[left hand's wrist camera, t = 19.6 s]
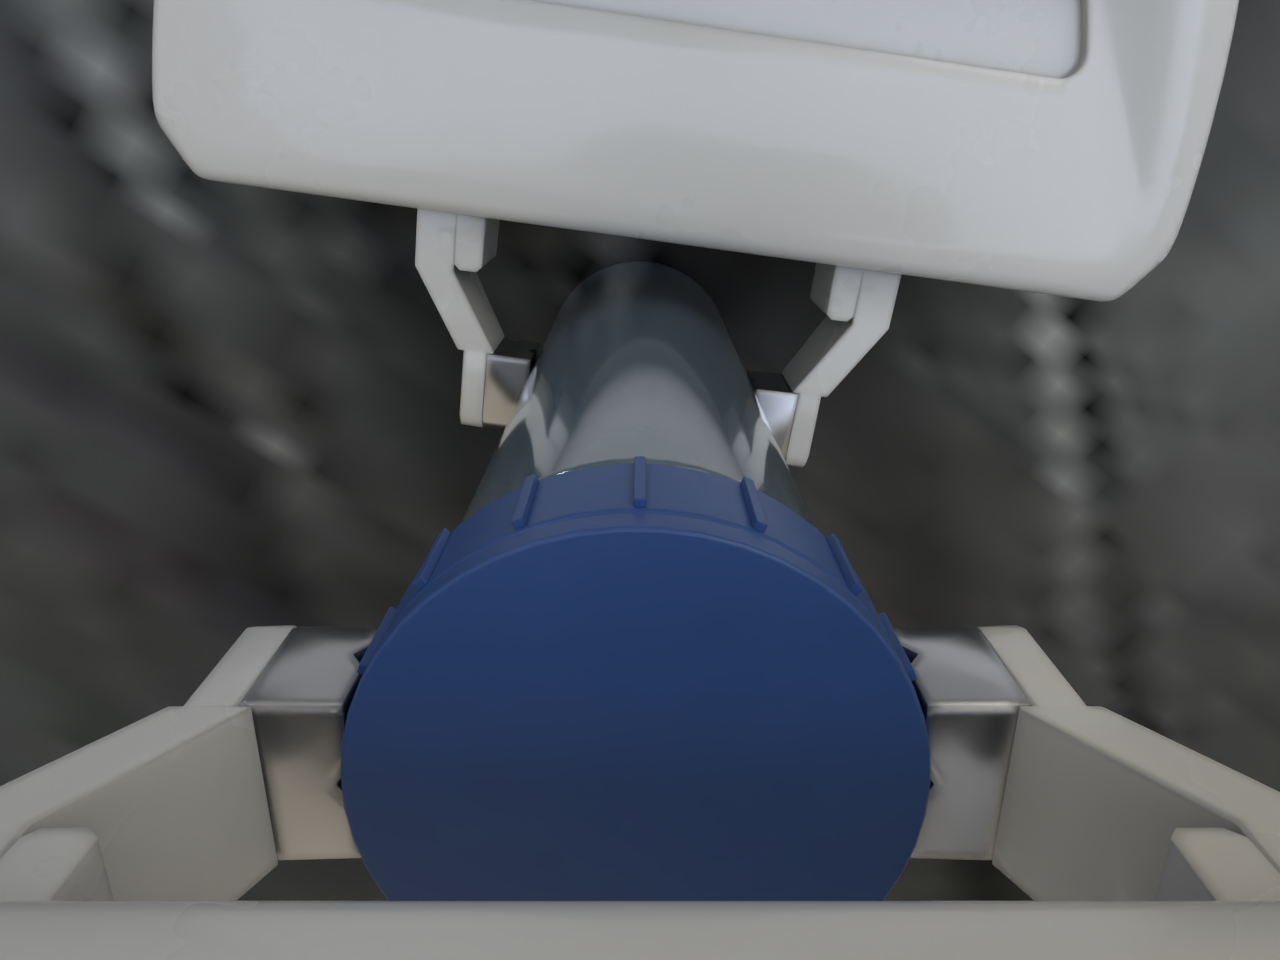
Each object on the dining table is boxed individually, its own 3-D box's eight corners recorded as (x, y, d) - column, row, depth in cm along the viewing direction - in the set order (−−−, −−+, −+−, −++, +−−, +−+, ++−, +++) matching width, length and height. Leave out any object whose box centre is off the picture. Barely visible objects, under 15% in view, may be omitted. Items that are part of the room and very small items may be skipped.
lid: (294, 749, 10) (232, 858, 9) (560, 349, 9) (543, 396, 7) (693, 958, 11) (702, 1089, 10) (996, 638, 10) (1063, 733, 8)
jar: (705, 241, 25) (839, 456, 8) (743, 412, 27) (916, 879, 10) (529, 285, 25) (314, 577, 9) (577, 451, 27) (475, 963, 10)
